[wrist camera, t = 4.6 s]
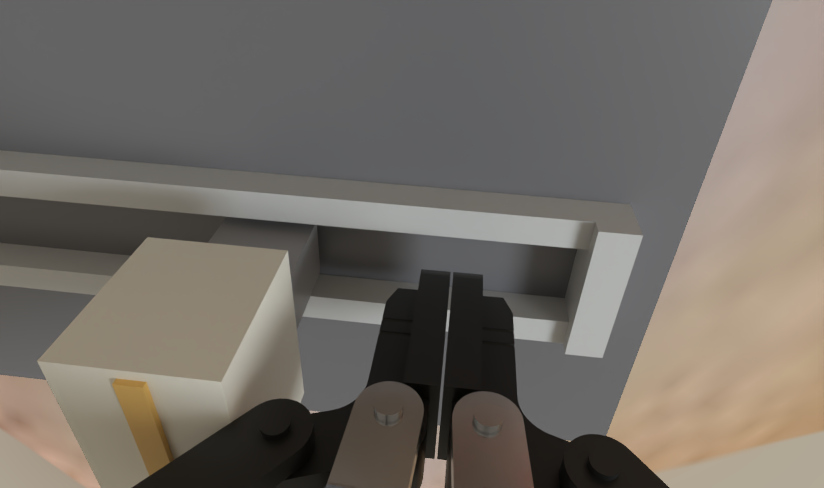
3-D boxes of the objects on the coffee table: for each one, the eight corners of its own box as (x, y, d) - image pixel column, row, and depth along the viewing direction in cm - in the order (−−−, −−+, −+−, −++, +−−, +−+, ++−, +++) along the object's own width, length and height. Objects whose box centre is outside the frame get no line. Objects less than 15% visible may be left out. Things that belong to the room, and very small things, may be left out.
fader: (209, 167, 14) (31, 367, 9) (325, 176, 14) (218, 387, 8) (235, 298, 17) (110, 517, 11) (333, 308, 17) (255, 536, 11)
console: (-529, -120, 14) (-771, -114, 12) (746, -52, 12) (822, -25, 9) (-190, 311, 23) (-283, 374, 20) (593, 398, 21) (609, 481, 18)
